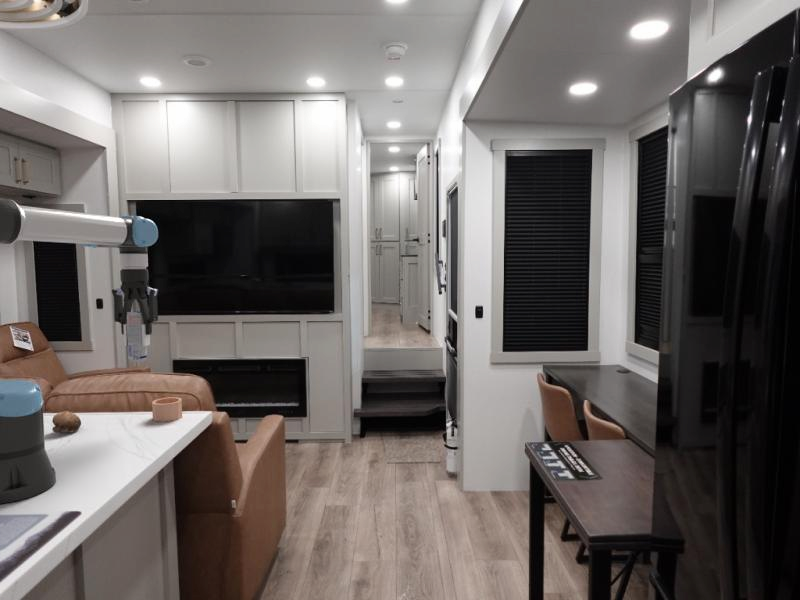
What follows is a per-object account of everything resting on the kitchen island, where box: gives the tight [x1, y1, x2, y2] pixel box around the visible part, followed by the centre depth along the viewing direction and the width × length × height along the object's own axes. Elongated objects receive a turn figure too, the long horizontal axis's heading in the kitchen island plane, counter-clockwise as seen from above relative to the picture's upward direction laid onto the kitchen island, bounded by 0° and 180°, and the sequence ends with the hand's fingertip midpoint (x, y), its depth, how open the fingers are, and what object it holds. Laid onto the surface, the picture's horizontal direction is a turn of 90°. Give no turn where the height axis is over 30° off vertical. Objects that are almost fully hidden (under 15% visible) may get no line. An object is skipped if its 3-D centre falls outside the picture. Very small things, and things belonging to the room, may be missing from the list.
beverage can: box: [127, 310, 148, 363], centre depth 157 cm, size 5×5×15 cm
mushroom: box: [52, 410, 82, 434], centre depth 153 cm, size 8×8×6 cm
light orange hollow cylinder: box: [151, 396, 183, 423], centre depth 166 cm, size 9×9×6 cm
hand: (137, 345), depth 157 cm, fingers closed on beverage can, 5 cm apart
